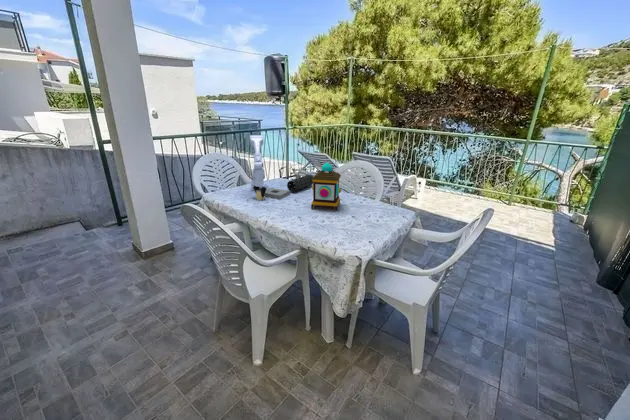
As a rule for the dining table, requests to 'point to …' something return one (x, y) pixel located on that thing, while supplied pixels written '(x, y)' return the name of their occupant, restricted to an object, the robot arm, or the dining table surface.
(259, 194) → the plug
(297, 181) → the muzzle brake
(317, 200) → the decorative lantern
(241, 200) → the dining table surface
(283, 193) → the socket plate
